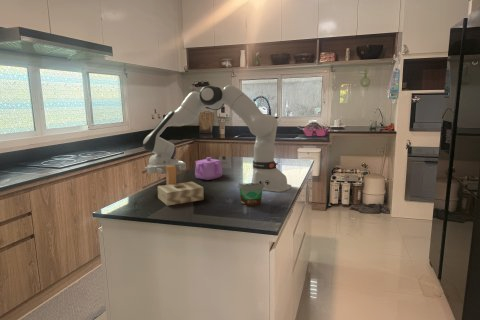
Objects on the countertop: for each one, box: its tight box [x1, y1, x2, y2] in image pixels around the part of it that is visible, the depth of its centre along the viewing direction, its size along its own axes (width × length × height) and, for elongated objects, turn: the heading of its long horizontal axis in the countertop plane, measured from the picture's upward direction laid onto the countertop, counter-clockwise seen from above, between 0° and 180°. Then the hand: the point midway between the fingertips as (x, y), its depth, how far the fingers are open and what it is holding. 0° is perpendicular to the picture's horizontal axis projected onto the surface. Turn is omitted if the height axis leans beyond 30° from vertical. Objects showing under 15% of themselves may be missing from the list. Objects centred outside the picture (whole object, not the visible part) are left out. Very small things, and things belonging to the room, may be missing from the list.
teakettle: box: [194, 156, 223, 181], centre depth 208 cm, size 17×17×12 cm
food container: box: [237, 181, 264, 207], centre depth 152 cm, size 12×6×10 cm, turn 105°
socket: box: [157, 181, 205, 206], centre depth 162 cm, size 18×14×6 cm
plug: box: [165, 165, 177, 185], centre depth 172 cm, size 4×4×14 cm
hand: (171, 170), depth 171 cm, fingers open, 8 cm apart
